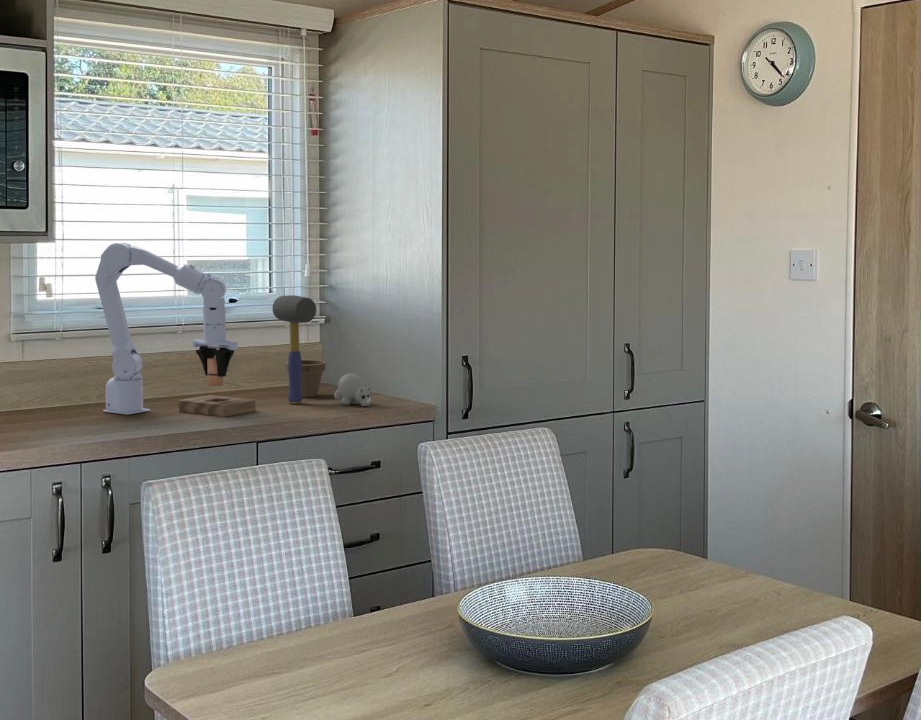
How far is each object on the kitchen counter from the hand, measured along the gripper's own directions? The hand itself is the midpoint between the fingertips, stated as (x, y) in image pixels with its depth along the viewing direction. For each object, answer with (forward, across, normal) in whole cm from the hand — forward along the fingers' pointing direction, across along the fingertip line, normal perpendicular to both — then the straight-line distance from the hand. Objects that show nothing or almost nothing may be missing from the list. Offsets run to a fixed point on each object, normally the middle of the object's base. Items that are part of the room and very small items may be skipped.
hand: (215, 375), depth 298 cm
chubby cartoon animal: (+10, -23, -29) cm, 39 cm away
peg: (+2, 0, 0) cm, 2 cm away
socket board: (+10, 0, 0) cm, 10 cm away
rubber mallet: (+10, -8, -22) cm, 26 cm away
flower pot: (+10, -1, -36) cm, 37 cm away
